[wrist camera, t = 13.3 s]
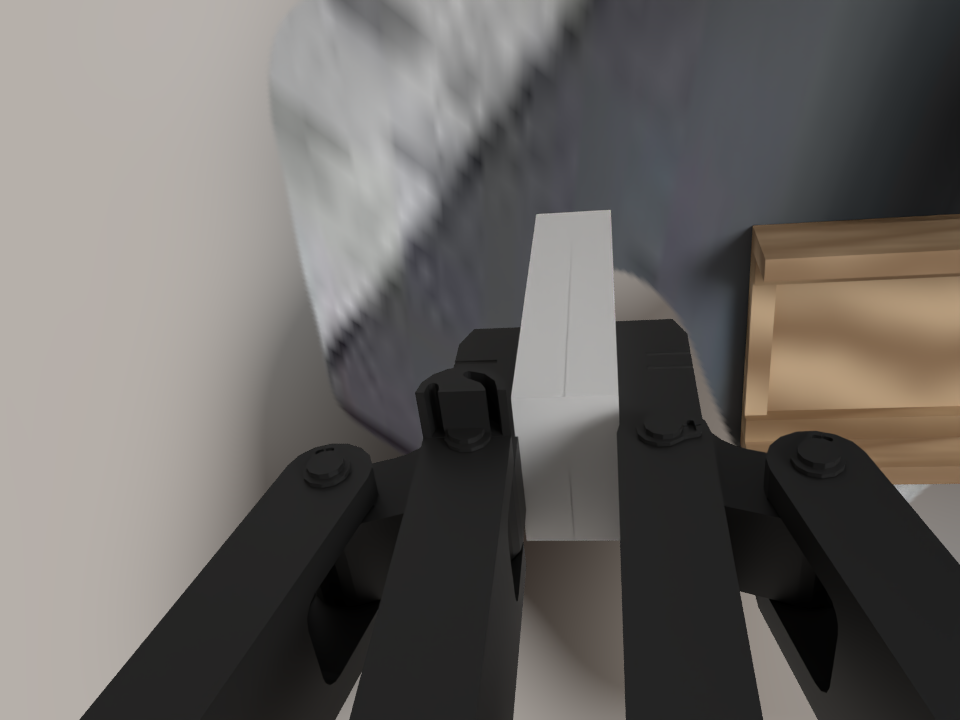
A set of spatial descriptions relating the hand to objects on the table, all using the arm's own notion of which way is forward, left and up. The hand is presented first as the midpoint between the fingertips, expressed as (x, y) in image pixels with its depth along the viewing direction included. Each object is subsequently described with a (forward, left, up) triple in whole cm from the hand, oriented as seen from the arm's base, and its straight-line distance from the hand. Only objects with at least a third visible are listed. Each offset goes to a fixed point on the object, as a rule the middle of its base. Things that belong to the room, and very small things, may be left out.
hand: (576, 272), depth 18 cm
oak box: (+18, +16, -26) cm, 36 cm away
